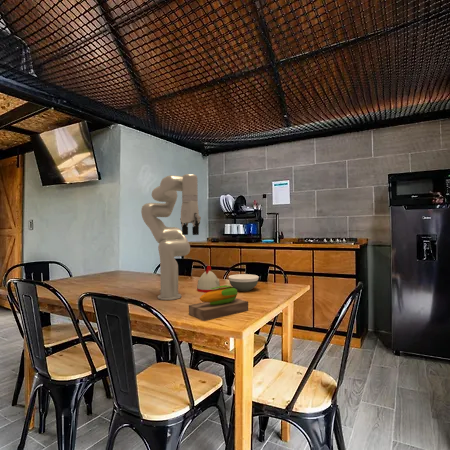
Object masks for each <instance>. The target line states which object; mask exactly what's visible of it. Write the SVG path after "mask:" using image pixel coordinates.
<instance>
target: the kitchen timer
mask: <svg viewBox="0 0 450 450" xmlns="http://www.w3.org/2000/svg"><path fill="white" fill-rule="evenodd" d="M219 286H221V283H220V278H218V276H217V275H216V274H215V273H214V272H213V271H212V267H211V265H207V267H206V269H205V271H204V272H203V273H202V274H201V275H200V277H199V278H198V279H197V287H196V291H197V292H199V293H203V294H205V293H207V292H210V291H213V290H216V289H221V288H215V289H211V288H214V287H219Z"/></svg>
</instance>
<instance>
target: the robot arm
mask: <svg viewBox="0 0 450 450" xmlns="http://www.w3.org/2000/svg"><path fill="white" fill-rule="evenodd" d="M178 192H181V196H182V197H181V199H182V201H181V207H180V208H181V209H180V225H181V228H179V227H176V226H174V227H172V226H166V225H165V223H164V221H162V220H161V219H160V218H168V217H170V216H171V215H172V212H173V210H174V208H175V205H176V203H177V198H178ZM198 196H199V195H198V176H197V175H196V174H193V173H186V174H183V175H182V176H180V175H167V176H165V177H163V178H162V179H161V181H160V184H159V185H158V186H157V187H155V188H153V189H152V192H151V198H152V199H153V200H154V201H156V202H147V203H145V204H143V205H142V206H141V210H140V212H141V217H142V220H143V223H145V225H146V227H148V229H149V230H150V231H151V234H152V236H153V238H154V239H155V241H156V243H158V253H159V254H158V255H159V264H160V266H159V267H160V269H159V270H160V271H159V272H160V274H159V275H160V280H159V281H160V288H159V292H160V294H159V295H157V299H158V300H162V301H172V300H173V301H174V300H177V299H180V298H182V294H181V293H179V264H178V261H177V260H176V257H186V256H187V255H188V254H189V255H190V251H191V245H190V241H188V238H187V237H186V236H185V235H187V236H189V226H188V225H189V224H192V227H191V228H192V236H199V234H200V233H199V232H200V230H199V229H200V224H201V220H202V217H201V216H200V214H199V213H200V212H199V204H198V202H199V201H198ZM161 202H162V203H161Z"/></svg>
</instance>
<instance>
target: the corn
mask: <svg viewBox="0 0 450 450" xmlns="http://www.w3.org/2000/svg"><path fill="white" fill-rule="evenodd" d="M215 288H220V289H216V290H213V291H210V292H207V293H203V294H202V295H200V297H199V300H200V302H201V303H203V302H209V303H210V304H209V305H220V304H225V303H230V302H232V301H233V300H235V298H236V299H237V296H238V290H236V289H235V288H234V287H232V286H231V285H227V284H226V285H220V286H219V287H214V288H211V289H215Z"/></svg>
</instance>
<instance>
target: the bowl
mask: <svg viewBox="0 0 450 450" xmlns="http://www.w3.org/2000/svg"><path fill="white" fill-rule="evenodd" d="M259 278H260V276H258V275H256V274H250V273H249V274H248V273H245V274H244V273H238V274H230V275H229V276H228V280H229V285H230V286H231V287H234V288H235V289H236V290H237V292H238V291H239V292H248V291H249V292H251V290H252V289H254V288H255V287H256V286H257V285H258V283H259Z"/></svg>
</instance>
